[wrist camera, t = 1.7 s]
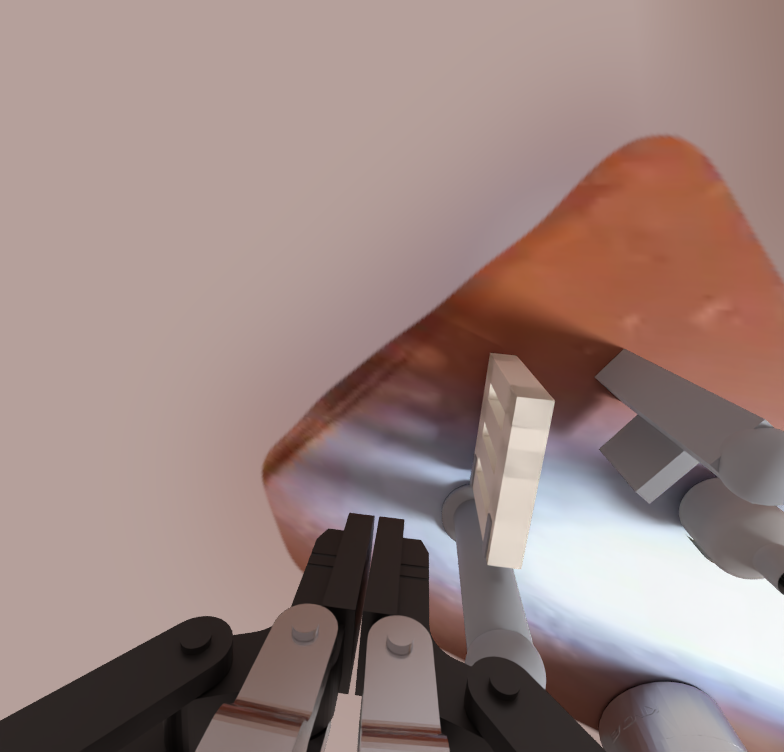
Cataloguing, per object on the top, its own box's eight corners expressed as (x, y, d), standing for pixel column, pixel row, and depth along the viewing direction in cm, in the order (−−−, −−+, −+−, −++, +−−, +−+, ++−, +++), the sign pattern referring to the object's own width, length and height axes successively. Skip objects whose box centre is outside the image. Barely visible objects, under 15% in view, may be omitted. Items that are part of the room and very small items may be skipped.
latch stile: (667, 383, 28) (877, 500, 15) (598, 445, 29) (735, 602, 16) (624, 344, 28) (801, 428, 15) (556, 408, 29) (662, 539, 16)
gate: (496, 481, 30) (523, 569, 22) (469, 477, 30) (485, 564, 22) (518, 355, 28) (557, 401, 19) (488, 352, 28) (514, 396, 19)
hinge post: (523, 512, 31) (596, 711, 18) (476, 553, 32) (512, 771, 19) (473, 470, 31) (510, 644, 17) (428, 514, 32) (429, 710, 18)
